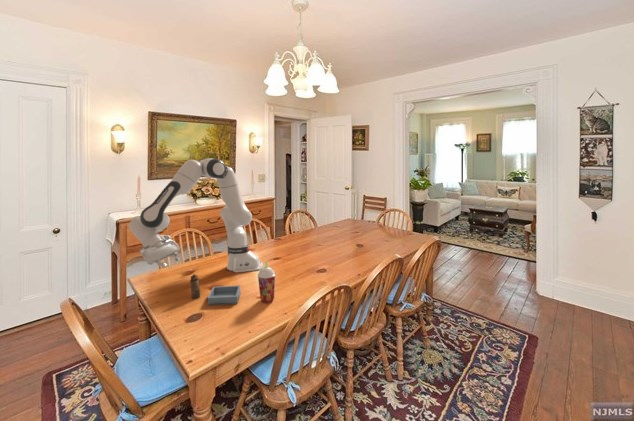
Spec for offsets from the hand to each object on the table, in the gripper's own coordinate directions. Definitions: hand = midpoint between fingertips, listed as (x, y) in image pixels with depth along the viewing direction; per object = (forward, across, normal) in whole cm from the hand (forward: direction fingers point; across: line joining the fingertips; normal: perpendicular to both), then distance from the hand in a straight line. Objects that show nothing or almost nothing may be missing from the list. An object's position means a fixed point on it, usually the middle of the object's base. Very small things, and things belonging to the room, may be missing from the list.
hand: (172, 263), depth 158 cm
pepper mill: (+20, 0, +3) cm, 21 cm away
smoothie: (+46, +6, -23) cm, 52 cm away
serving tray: (+31, +2, -8) cm, 32 cm away
